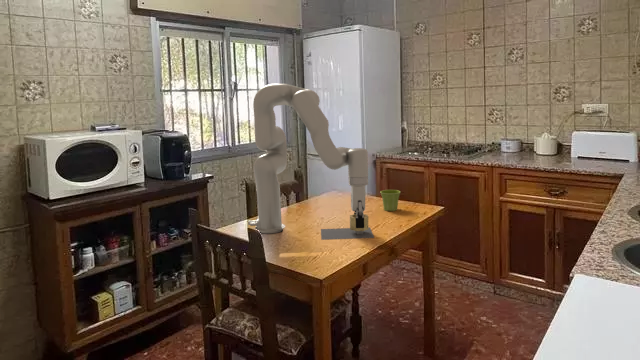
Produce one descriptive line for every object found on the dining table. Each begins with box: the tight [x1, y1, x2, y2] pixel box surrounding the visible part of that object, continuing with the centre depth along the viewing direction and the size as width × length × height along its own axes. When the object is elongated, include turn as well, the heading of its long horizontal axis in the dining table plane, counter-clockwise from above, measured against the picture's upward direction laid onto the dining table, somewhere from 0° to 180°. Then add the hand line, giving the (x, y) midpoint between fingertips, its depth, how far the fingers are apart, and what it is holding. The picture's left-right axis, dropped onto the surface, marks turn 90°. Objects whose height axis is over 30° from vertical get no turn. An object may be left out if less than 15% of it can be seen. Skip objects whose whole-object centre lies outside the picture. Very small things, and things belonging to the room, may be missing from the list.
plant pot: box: [379, 189, 401, 212], centre depth 237 cm, size 9×9×9 cm
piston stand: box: [320, 226, 375, 241], centre depth 198 cm, size 20×14×7 cm
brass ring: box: [349, 213, 369, 231], centre depth 198 cm, size 7×7×5 cm
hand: (359, 224), depth 198 cm, fingers open, 7 cm apart
